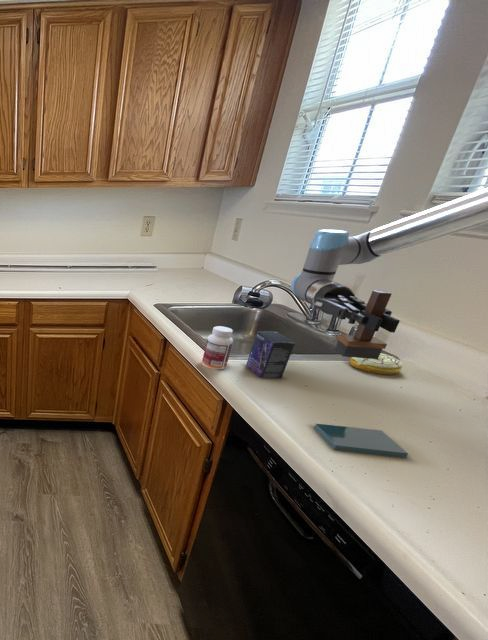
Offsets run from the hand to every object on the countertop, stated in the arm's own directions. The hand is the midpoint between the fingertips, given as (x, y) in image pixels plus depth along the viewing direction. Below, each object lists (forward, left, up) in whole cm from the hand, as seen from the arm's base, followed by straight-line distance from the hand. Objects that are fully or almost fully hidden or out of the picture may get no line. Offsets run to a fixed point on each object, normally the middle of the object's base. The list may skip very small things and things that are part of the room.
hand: (386, 325), depth 89 cm
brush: (0, -5, -9) cm, 11 cm away
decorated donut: (-17, -24, -20) cm, 35 cm away
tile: (+8, +18, -19) cm, 28 cm away
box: (+14, -14, -20) cm, 28 cm away
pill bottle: (+26, -16, -20) cm, 36 cm away
